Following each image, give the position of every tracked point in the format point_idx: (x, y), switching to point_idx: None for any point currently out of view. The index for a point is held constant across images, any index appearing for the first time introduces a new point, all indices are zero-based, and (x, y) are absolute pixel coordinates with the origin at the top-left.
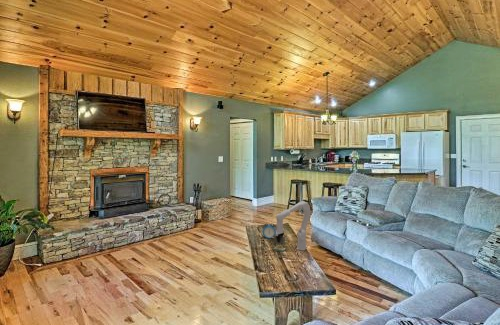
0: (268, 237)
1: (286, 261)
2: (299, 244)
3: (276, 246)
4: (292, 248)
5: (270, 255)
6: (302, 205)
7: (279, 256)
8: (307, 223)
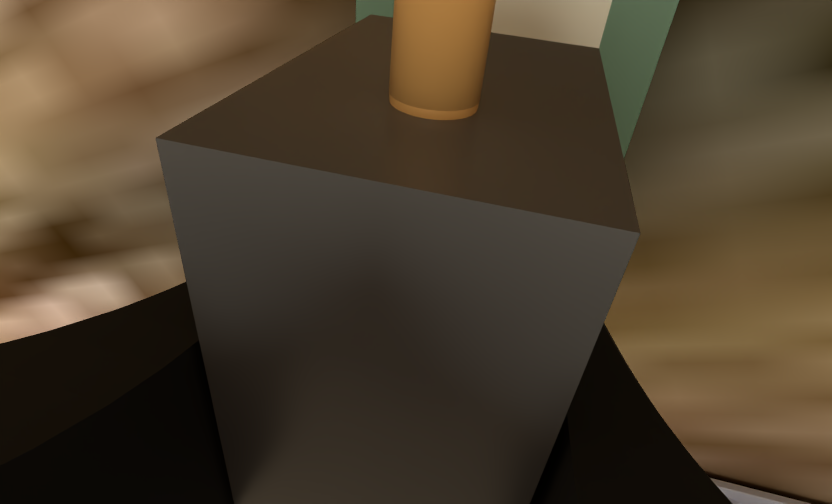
0: None
1: (39, 331)
2: None
3: (640, 11)
4: (659, 398)
5: (17, 16)
6: None
7: (113, 215)
8: None
